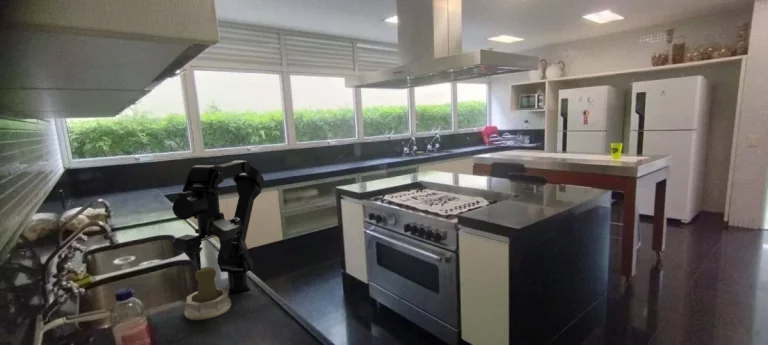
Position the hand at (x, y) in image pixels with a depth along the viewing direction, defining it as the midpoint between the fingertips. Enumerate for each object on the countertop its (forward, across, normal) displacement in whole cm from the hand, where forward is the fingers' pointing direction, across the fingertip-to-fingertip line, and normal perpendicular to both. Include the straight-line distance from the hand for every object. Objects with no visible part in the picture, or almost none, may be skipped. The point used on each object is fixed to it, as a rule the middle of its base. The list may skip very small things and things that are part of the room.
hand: (212, 264), depth 103 cm
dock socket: (+13, -2, +1) cm, 13 cm away
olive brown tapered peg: (+12, -2, +1) cm, 12 cm away
